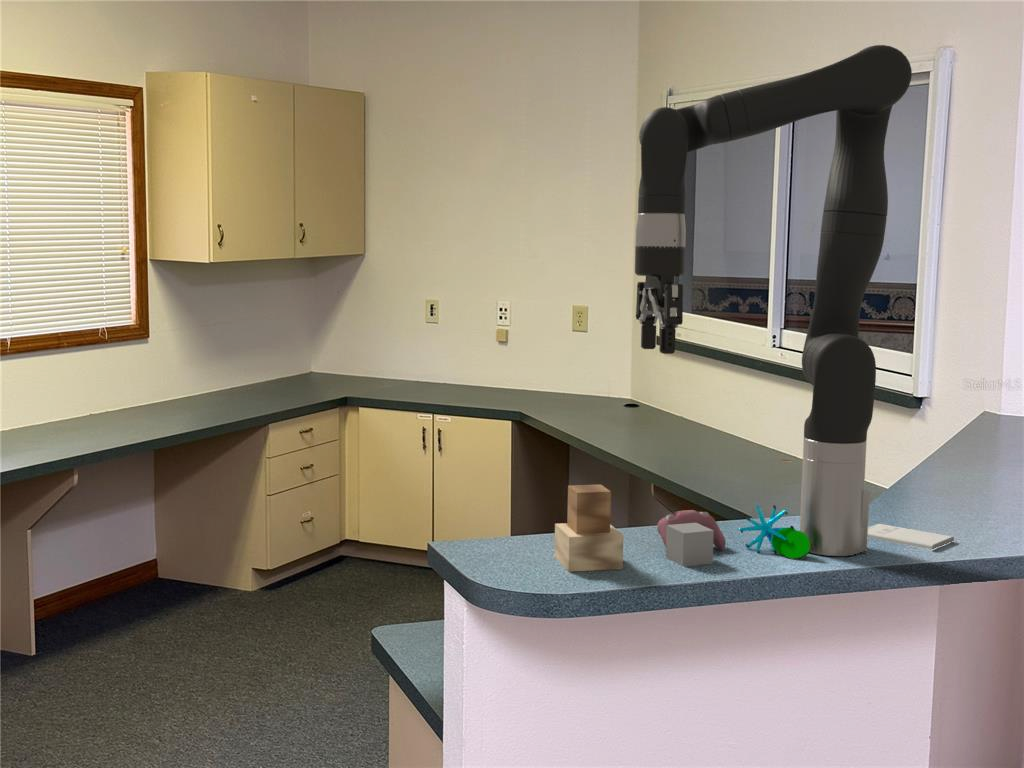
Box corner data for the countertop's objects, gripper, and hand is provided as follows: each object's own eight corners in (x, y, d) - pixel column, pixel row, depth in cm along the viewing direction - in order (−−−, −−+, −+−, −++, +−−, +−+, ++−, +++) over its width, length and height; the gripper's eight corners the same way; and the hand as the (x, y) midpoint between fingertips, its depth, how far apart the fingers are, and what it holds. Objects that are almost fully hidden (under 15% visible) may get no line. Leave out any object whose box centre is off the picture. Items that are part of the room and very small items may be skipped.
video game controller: (715, 554, 173) (705, 511, 175) (730, 548, 169) (720, 503, 171) (659, 560, 169) (650, 515, 171) (672, 554, 165) (663, 508, 167)
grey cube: (694, 555, 167) (695, 522, 167) (712, 563, 162) (713, 530, 162) (665, 558, 165) (666, 525, 165) (682, 566, 161) (683, 533, 160)
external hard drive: (931, 555, 171) (856, 540, 179) (953, 546, 176) (879, 531, 185) (932, 545, 170) (856, 530, 179) (954, 535, 176) (880, 522, 185)
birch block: (606, 554, 166) (606, 521, 166) (622, 568, 159) (623, 534, 158) (554, 556, 165) (555, 523, 164) (568, 571, 157) (569, 537, 156)
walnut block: (599, 524, 164) (600, 484, 164) (610, 532, 159) (610, 491, 159) (567, 525, 163) (568, 485, 162) (576, 534, 158) (577, 492, 158)
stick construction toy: (728, 533, 171) (756, 492, 172) (742, 550, 176) (770, 511, 177) (791, 571, 163) (820, 528, 164) (804, 587, 168) (833, 546, 169)
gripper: (701, 244, 162) (697, 355, 164) (667, 245, 176) (664, 347, 178) (652, 243, 160) (649, 355, 162) (622, 244, 174) (619, 347, 176)
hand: (657, 351), depth 170 cm, fingers open, 8 cm apart
